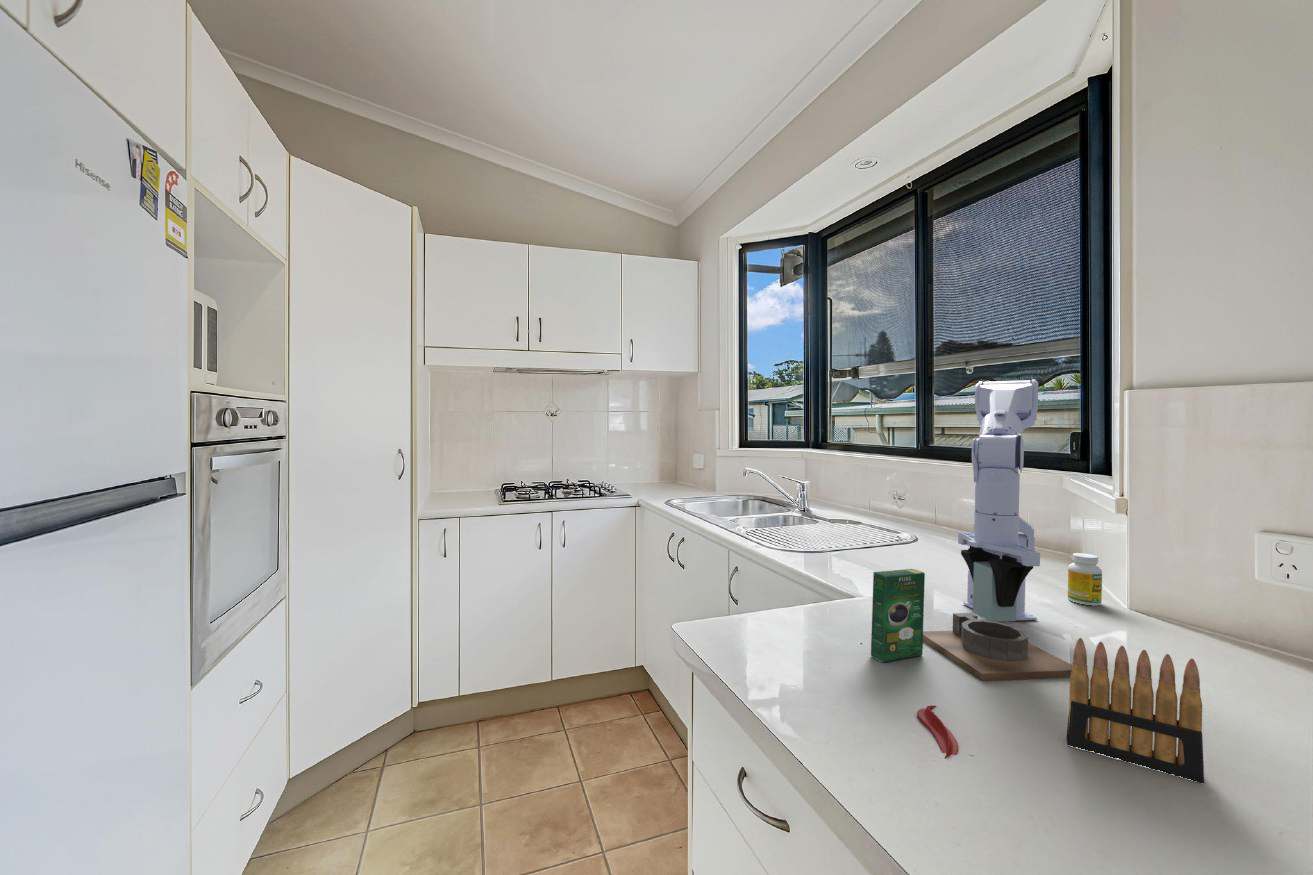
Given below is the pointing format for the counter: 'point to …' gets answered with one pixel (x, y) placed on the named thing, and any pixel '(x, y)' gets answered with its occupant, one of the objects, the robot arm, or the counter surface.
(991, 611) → the blue-gray rectangular block
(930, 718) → the cayenne pepper
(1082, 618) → the counter surface
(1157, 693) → the ammunition clip
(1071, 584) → the supplement bottle
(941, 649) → the cup bracket
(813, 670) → the counter surface
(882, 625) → the coffee box
